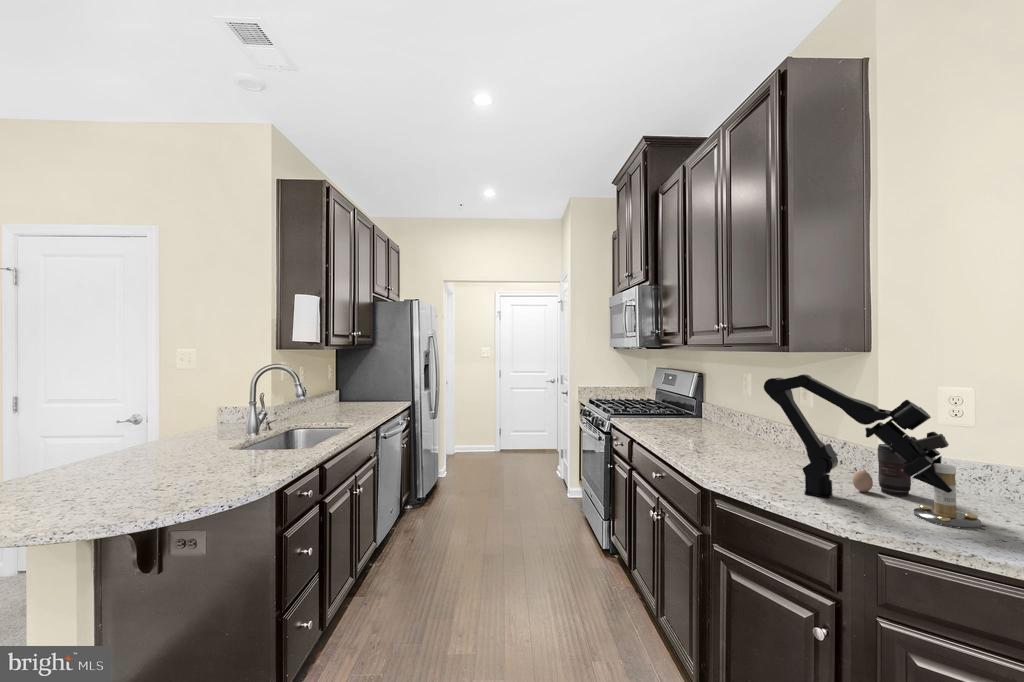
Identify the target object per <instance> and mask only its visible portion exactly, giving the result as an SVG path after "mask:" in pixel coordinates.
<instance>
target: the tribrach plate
mask: <svg viewBox="0 0 1024 682" xmlns="http://www.w3.org/2000/svg"><path fill="white" fill-rule="evenodd" d="M918 506H919V507H917V508H914V509H913V515H914V516H915V517H916V516H917V517H916V518H918V517H919V518H918V519H920V518H921V519H920V520H922V519H924V520H926V521H925V522H927V521H930V522H929V523H931V522H933V523H932V524H934V523H937V524H936V525H938V524H942V525H941V526H943V525H947V526H946V527H948V526H952V527H951V528H954V527H960V528H959V529H962V528H977V529H980V528H982V526H983V525H982V520H980V519H979V518H978V517H979V516H978V515H977V514H974V513H970V512H969V513H968V512H966V513H963V512H960V511H956V514H957V517H956V518H949V517H945V516H939V515H937V514H935V513H934V511H935V507H931V506H930V505H925V504H919V505H918ZM924 520H923V521H924ZM979 527H980V528H979Z"/></svg>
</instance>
